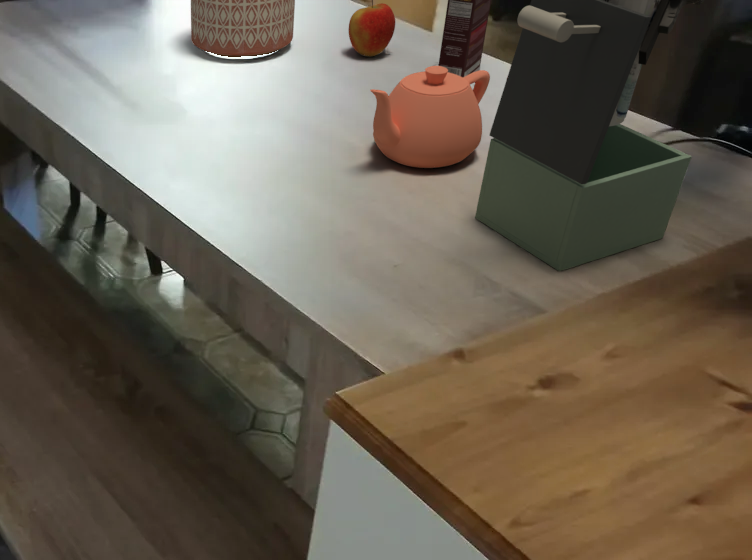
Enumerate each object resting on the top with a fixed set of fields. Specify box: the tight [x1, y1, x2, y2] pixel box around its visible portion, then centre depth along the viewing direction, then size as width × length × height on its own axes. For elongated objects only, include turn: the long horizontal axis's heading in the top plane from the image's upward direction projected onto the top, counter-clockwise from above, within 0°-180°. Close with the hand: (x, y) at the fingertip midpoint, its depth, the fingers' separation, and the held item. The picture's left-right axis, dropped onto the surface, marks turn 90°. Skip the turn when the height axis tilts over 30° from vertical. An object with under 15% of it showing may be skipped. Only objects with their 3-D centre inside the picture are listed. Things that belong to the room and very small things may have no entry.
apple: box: [348, 0, 396, 57], centre depth 166 cm, size 8×8×10 cm
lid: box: [489, 0, 651, 184], centre depth 103 cm, size 18×16×7 cm
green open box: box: [474, 123, 692, 272], centre depth 116 cm, size 17×16×11 cm
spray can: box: [603, 0, 661, 126], centre depth 103 cm, size 6×6×20 cm
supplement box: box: [437, 0, 492, 77], centre depth 154 cm, size 9×5×16 cm, turn 144°
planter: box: [190, 0, 296, 57], centre depth 171 cm, size 19×19×15 cm
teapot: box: [369, 65, 491, 169], centre depth 133 cm, size 22×15×12 cm
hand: (608, 52), depth 102 cm, fingers closed on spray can, 6 cm apart
